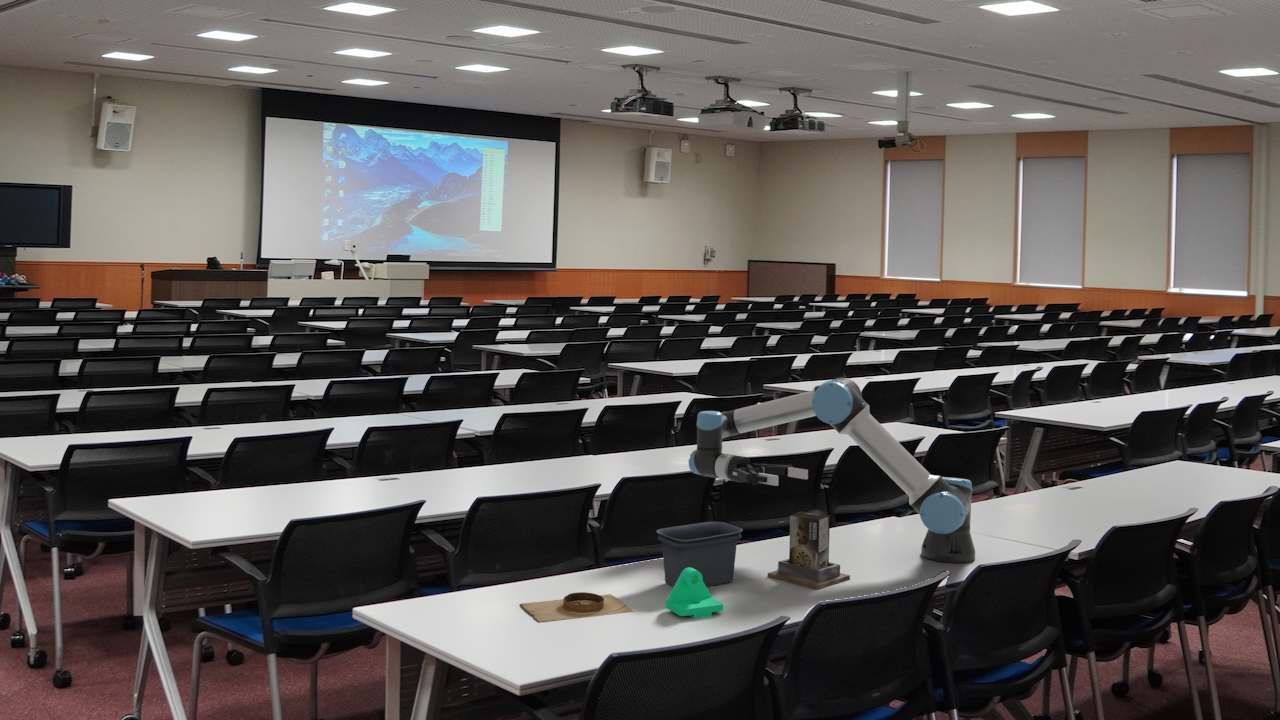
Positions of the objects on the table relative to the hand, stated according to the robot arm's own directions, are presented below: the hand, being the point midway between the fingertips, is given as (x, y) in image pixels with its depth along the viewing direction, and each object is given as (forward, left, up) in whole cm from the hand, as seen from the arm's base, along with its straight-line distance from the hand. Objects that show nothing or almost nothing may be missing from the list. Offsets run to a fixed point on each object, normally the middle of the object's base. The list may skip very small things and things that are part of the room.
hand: (792, 477), depth 325 cm
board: (+74, -7, -25) cm, 78 cm away
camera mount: (+55, +14, -24) cm, 61 cm away
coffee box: (+9, +14, -23) cm, 28 cm away
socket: (+9, +14, -24) cm, 29 cm away
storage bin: (+35, -3, -24) cm, 43 cm away
